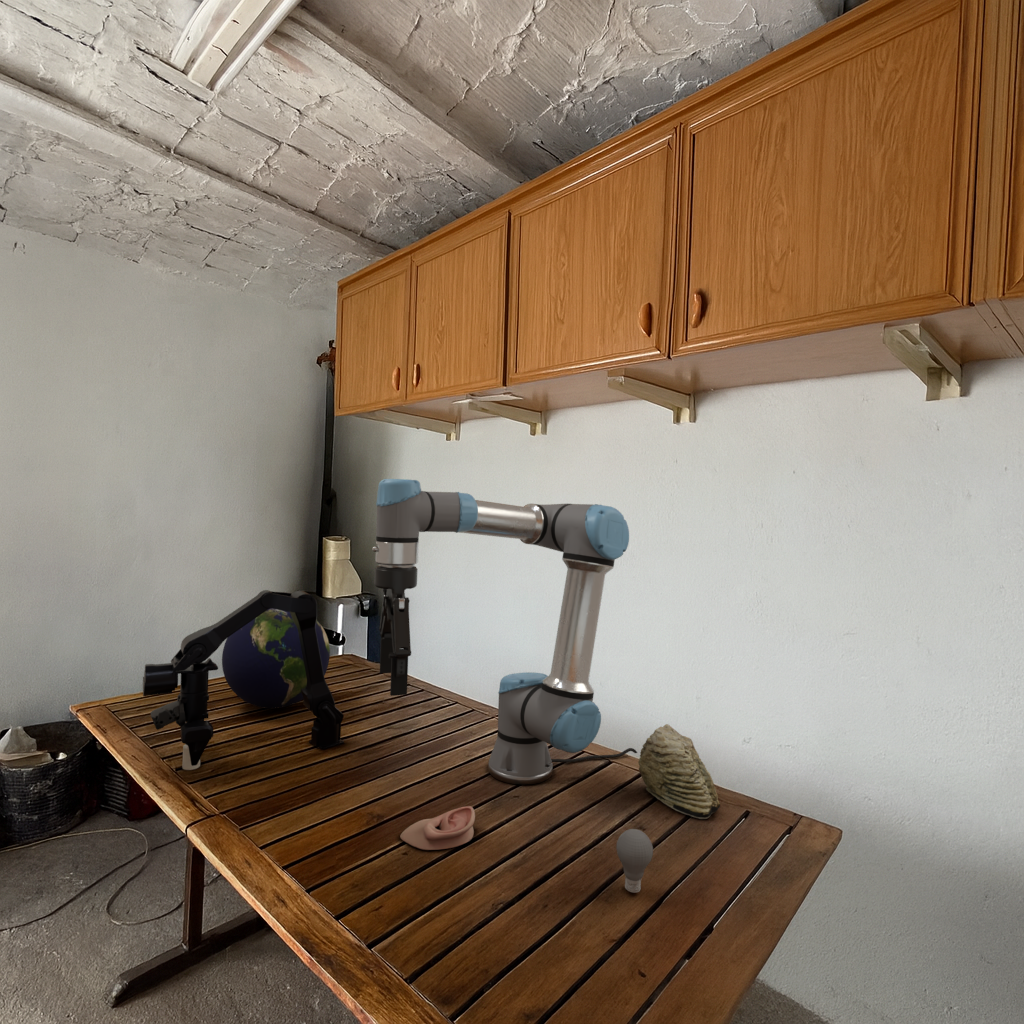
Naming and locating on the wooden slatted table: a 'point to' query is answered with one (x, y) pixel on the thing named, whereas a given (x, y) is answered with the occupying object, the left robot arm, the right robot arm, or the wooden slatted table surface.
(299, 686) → the globe
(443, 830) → the anatomical model
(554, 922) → the wooden slatted table surface
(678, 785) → the fossil
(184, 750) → the cylinder
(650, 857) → the light bulb
